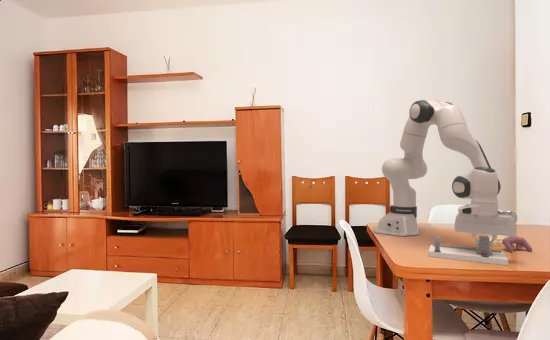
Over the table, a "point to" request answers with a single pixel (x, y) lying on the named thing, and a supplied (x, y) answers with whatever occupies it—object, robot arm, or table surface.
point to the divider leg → (484, 246)
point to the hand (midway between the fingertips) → (483, 245)
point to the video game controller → (518, 241)
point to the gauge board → (465, 253)
